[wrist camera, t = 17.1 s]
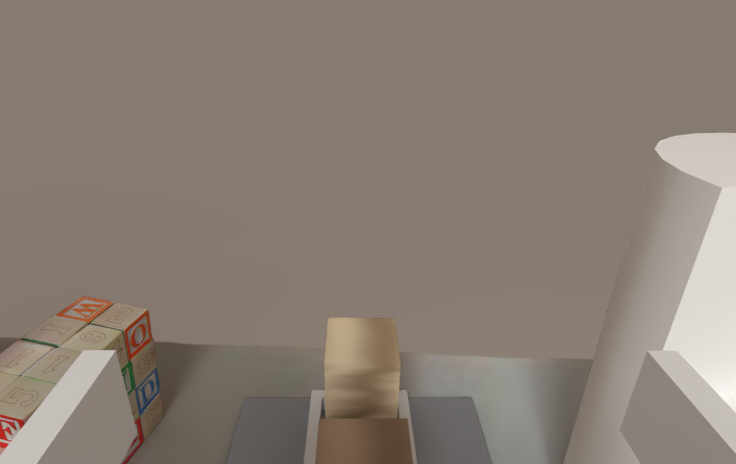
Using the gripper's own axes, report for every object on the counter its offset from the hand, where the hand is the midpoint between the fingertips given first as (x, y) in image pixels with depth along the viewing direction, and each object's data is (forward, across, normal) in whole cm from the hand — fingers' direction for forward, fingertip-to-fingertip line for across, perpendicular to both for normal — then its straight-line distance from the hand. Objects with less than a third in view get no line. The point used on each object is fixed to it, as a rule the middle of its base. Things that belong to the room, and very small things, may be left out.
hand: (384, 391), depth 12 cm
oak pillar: (+20, 0, -25) cm, 32 cm away
